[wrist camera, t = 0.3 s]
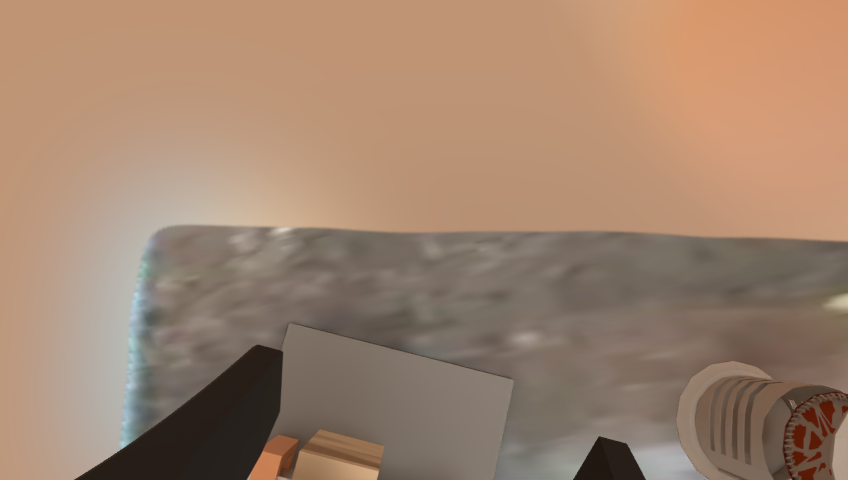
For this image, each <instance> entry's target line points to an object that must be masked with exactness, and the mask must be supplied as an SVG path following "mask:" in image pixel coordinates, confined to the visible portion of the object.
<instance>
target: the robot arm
mask: <svg viewBox="0 0 848 480" xmlns="http://www.w3.org/2000/svg"><path fill="white" fill-rule="evenodd" d="M282 367H283V351H280V350H276V349H272V348H269V347H265V346H261V345H256V346H254V347H252V348H251V349H250V350H249V351H248V352H247V353H245V354H244V355H243V356H242V357H241V358H240V359H239V360H237V361H236V362H235V363H234V364H233V365H232V366H230V367H229V368H228V369H227V370H226V371H225V372H223V373H222V374H221V375H220V376H219V377H217V378H216V379H215V380H214V381H213V382H211V383H210V384H209V385H208V386H206V387H205V388H204V389H203V390H201V391H200V392H199V393H198V394H196V395H195V396H194V397H193V398H191V399H190V400H189V401H187V402H186V403H185V404H184V405H182V406H181V407H180V408H178V409H177V410H176V411H175V412H173V413H172V414H171V415H169V416H168V417H167V418H165V419H164V420H162V421H161V422H160V423H158V424H157V425H155V426H154V427H153V428H151V429H150V430H149V431H147V432H146V433H144V434H143V435H142V436H140V437H139V438H137V439H136V440H135V441H133V442H132V443H130V444H129V445H127V446H126V447H124V448H123V449H121V450H120V451H118V452H117V453H115V454H114V455H113V456H111V457H110V458H108V459H106V460H105V461H103V462H102V463H100V464H99V465H97V466H95V467H94V468H92V469H91V470H89V471H88V472H86V473H84V474H83V475H81V476H80V477H78V478H76V479H75V480H247V479H248V477H249V475H250V473H251V472H252V470H253V468H254V466H255V465H256V463H257V461H258V459H259V458H260V456H261V454H262V452H263V449H264V447H265V445H266V443H267V441H268V438H269V436H270V434H271V431H272V429H273V427H274V424H275V422H276V420H277V417H278V415H279V413H280V406H281V387H282ZM573 480H646V479H645V477H644V475H643V473H642V471H641V470H640V468H639V466H638V464H637V462H636V460H635V458H634V456H633V454H632V452H631V451H630V449H629V447H628V445H627V444H626V443H622V442H618V441H615V440H611V439H607V438H604V437H600V436H599V437H598V439H597V440H596V442H595V444H594V446H593V447H592V449H591V451H590V452H589V454H588V456H587V457H586V459H585V461H584V462H583V464H582V466H581V467H580V469H579V471H578V472H577V474H576V476H575V478H574V479H573Z"/></svg>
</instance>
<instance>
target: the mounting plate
mask: <svg viewBox="0 0 848 480" xmlns="http://www.w3.org/2000/svg"><path fill="white" fill-rule="evenodd" d="M281 351H283V367H282V387H281V406H280V413H279V415H278V417H277V420H276V422H275V424H274V427H273V429H272V431H271V434H270V436H269V438H268V441H267V443H268V442H269V441H271V440H272V439H273V438H275V437H276V436H277V435H282V436H286V437H290V438H294V439H298V440H299V441H298V445H297V448H296V452H295V455H294V459H293V462H292V466H291V469H293V470H294V469H295V466H296V462H297V459H298V455H299V452H300V450H301V449H302V448H303V447H304V446H305V445H306V444H307V443H308V442H309V440H310V439H311V438H312V437H313V436H314V435H315V434H316V433H317V432H318V431H319V430H320V429H321V430H324V431H328V432H332V433H336V434H340V435H344V436H348V437H352V438H355V439H359V440H363V441H367V442H371V443H375V444H379V445H382V446H384V450H383V455H382V460H381V464H380V469H379V473H378V477H377V480H494V476H495V471H496V466H497V461H498V457H499V452H500V447H501V442H502V437H503V432H504V427H505V423H506V418H507V413H508V408H509V403H510V398H511V394H512V389H513V384H514V380H513V379H510V378H506V377H502V376H498V375H494V374H490V373H486V372H482V371H478V370H474V369H470V368H467V367H463V366H459V365H455V364H451V363H447V362H443V361H439V360H435V359H431V358H427V357H423V356H419V355H416V354H412V353H408V352H404V351H400V350H396V349H392V348H388V347H384V346H380V345H376V344H372V343H368V342H365V341H361V340H357V339H353V338H349V337H345V336H341V335H337V334H333V333H329V332H325V331H321V330H317V329H314V328H310V327H306V326H302V325H298V324H294V323H289V326H288V329H287V332H286V336H285V339H284V342H283V346H282V349H281ZM267 443H266V444H267Z"/></svg>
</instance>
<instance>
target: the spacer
mask: <svg viewBox="0 0 848 480" xmlns="http://www.w3.org/2000/svg"><path fill="white" fill-rule="evenodd" d="M298 441H299V440H298V439H294V438H290V437H286V436H282V435H277V436H276V437H275V438H273V439H272V440H271V441H269V442H268V443H267V444H266V445H265V447H264V449H263V452H262V454H261V456H260V458H259V459H258V461H257V463H256V465H255V466H254V468H253V470H252V473H251V476H250V480H277V479H278V476H279V472H280V469H281V467H285V468H289V469H291V466H292V462H293V459H294V455H295V452H296V448H297V445H298Z"/></svg>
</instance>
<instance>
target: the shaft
mask: <svg viewBox="0 0 848 480" xmlns="http://www.w3.org/2000/svg"><path fill="white" fill-rule="evenodd" d="M251 473H252V472H251ZM251 473H250V475H249V477H248V479H247V480H250V476H251ZM293 473H294V470H293V469H289V468H285V467H281V469H280V472H279V476H278V479H277V480H292V477H293Z"/></svg>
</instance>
